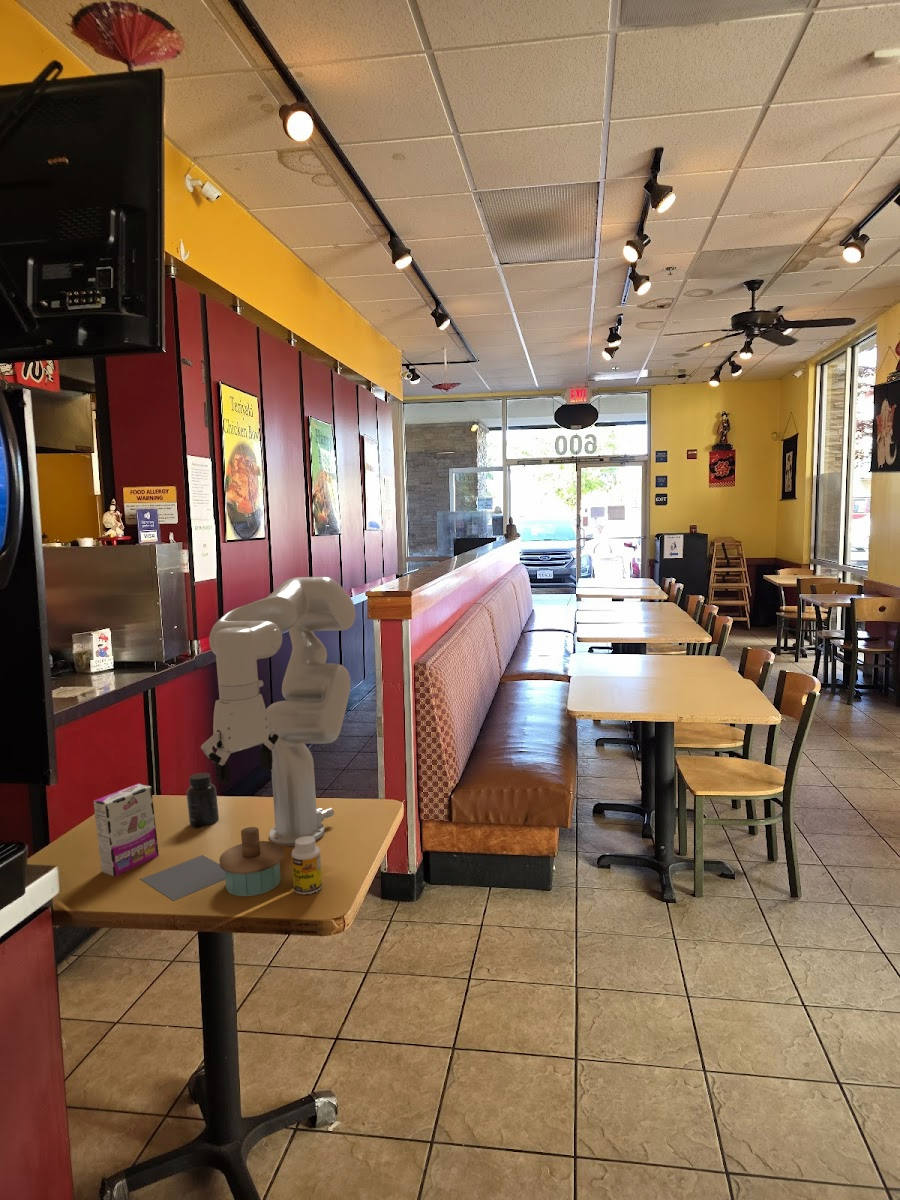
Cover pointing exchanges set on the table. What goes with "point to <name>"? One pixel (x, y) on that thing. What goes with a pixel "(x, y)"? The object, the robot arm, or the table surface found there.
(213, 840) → the table surface
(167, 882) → the mat
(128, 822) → the candy bar box
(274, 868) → the bowl
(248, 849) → the lid
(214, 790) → the supplement bottle
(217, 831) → the table surface
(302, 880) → the supplement bottle
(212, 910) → the table surface
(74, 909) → the table surface
